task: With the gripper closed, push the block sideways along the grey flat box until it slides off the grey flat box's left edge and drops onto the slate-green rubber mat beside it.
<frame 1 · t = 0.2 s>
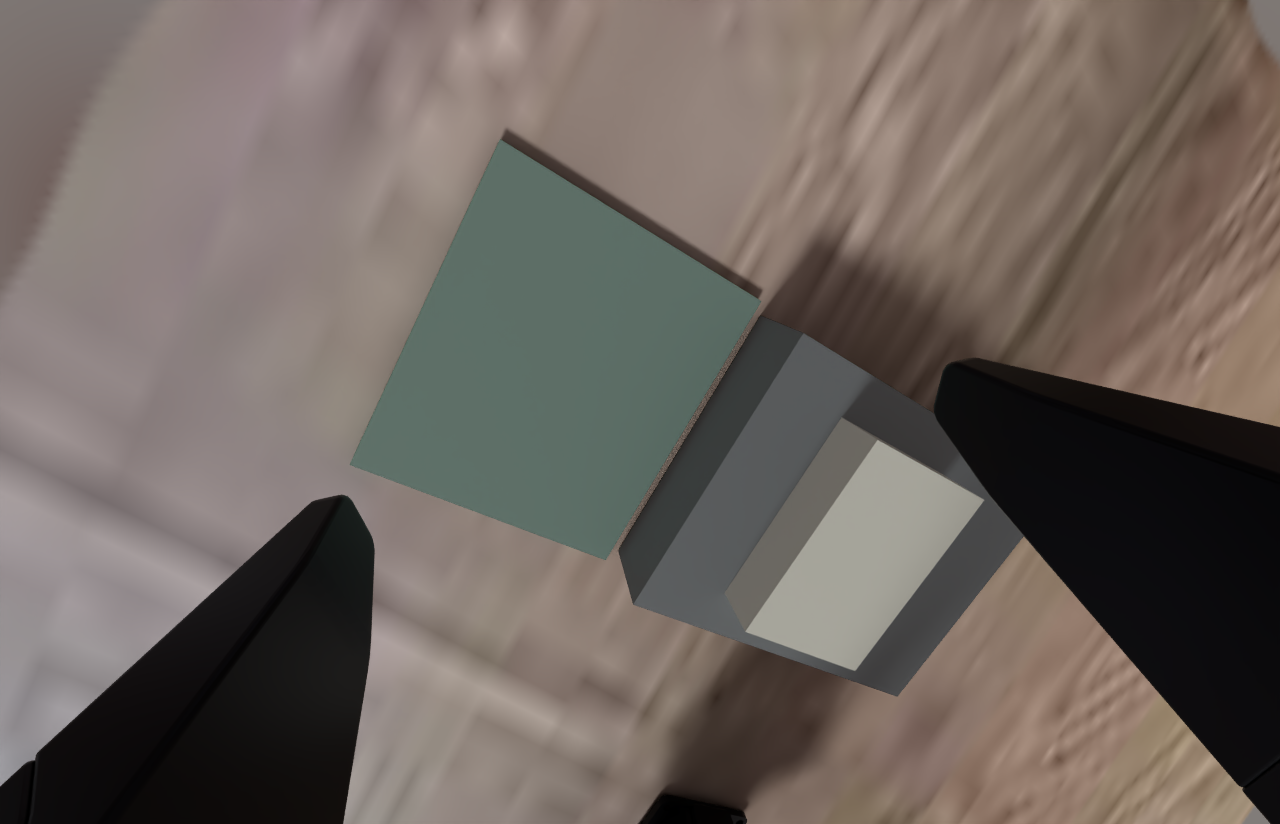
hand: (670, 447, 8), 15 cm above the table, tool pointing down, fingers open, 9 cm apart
mat: (560, 378, 23), on the table
block: (833, 532, 23), point 4 cm above the table, touching grey flat box
grey flat box: (813, 501, 28), on the table
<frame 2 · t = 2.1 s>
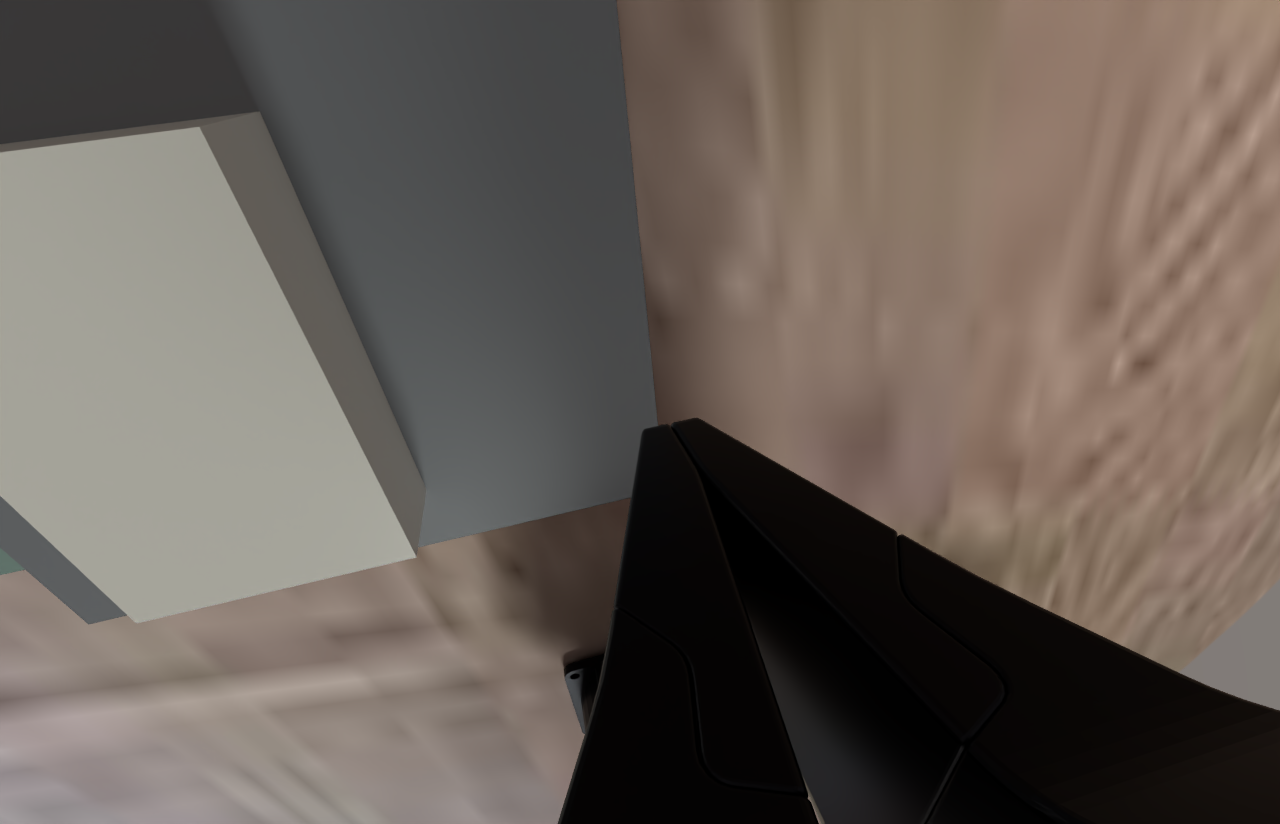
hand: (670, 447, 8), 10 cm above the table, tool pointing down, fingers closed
block: (216, 367, 12), point 4 cm above the table, touching grey flat box
grey flat box: (333, 288, 15), on the table
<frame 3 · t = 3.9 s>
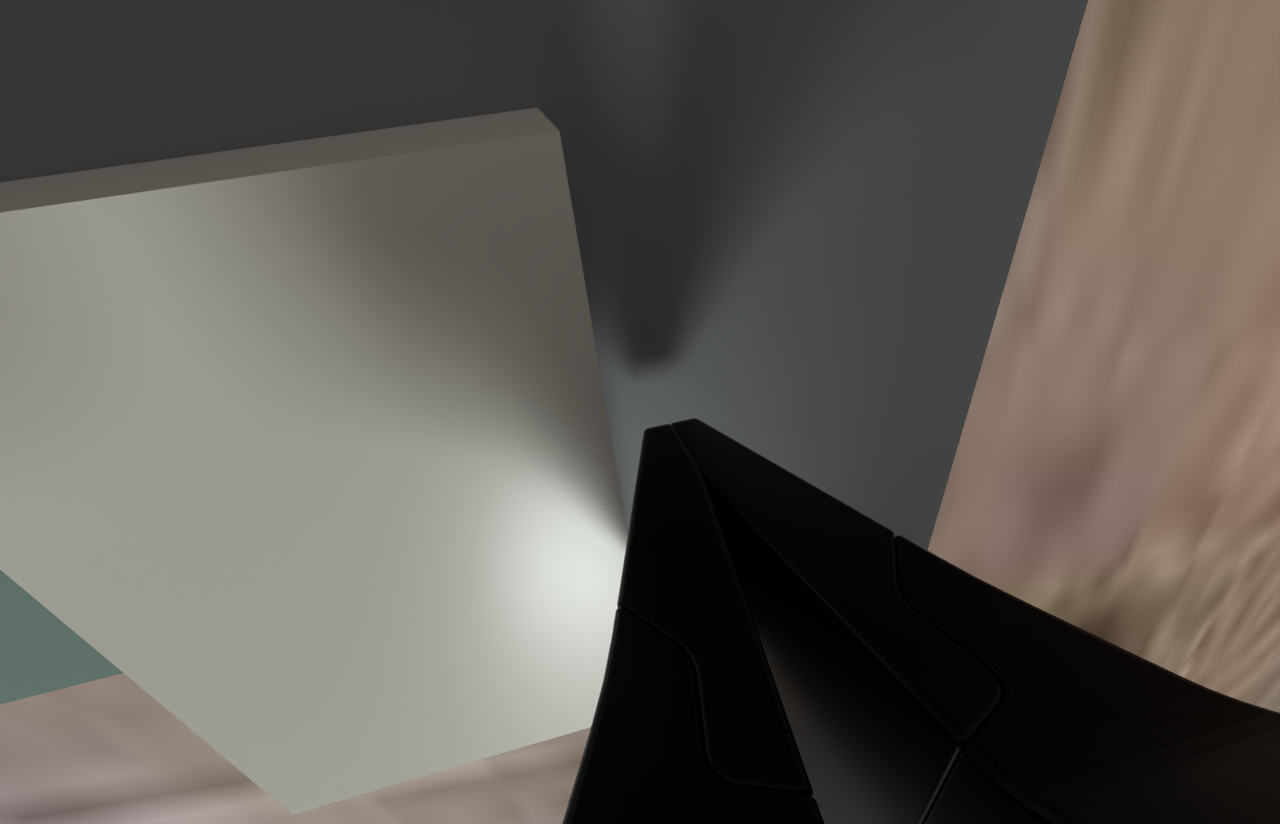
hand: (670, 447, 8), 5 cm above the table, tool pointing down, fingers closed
block: (406, 464, 8), point 4 cm above the table, touching gripper
grey flat box: (533, 330, 12), on the table
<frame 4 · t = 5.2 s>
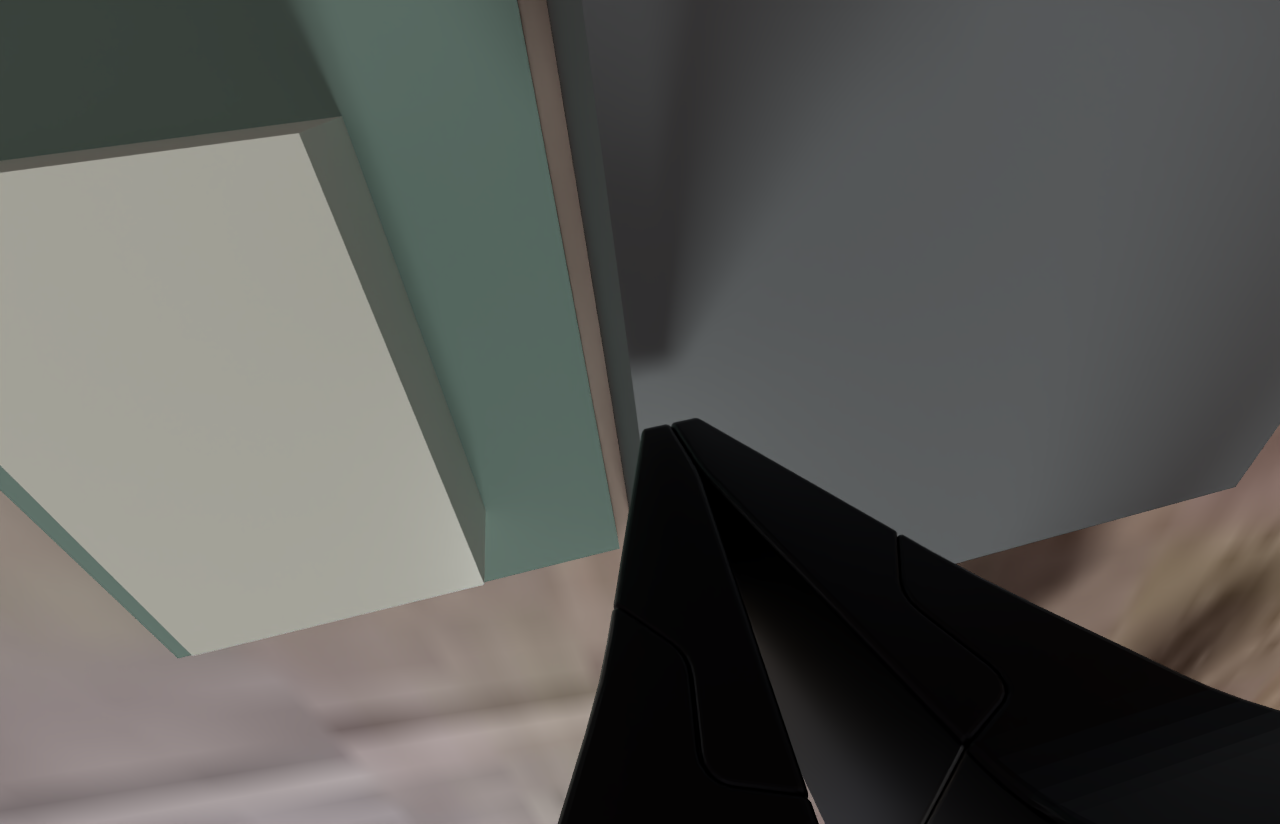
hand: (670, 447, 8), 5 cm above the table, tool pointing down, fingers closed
mat: (297, 379, 11), on the table
block: (233, 457, 9), point 3 cm above the table, tilted 180°, touching mat
grey flat box: (918, 259, 13), on the table
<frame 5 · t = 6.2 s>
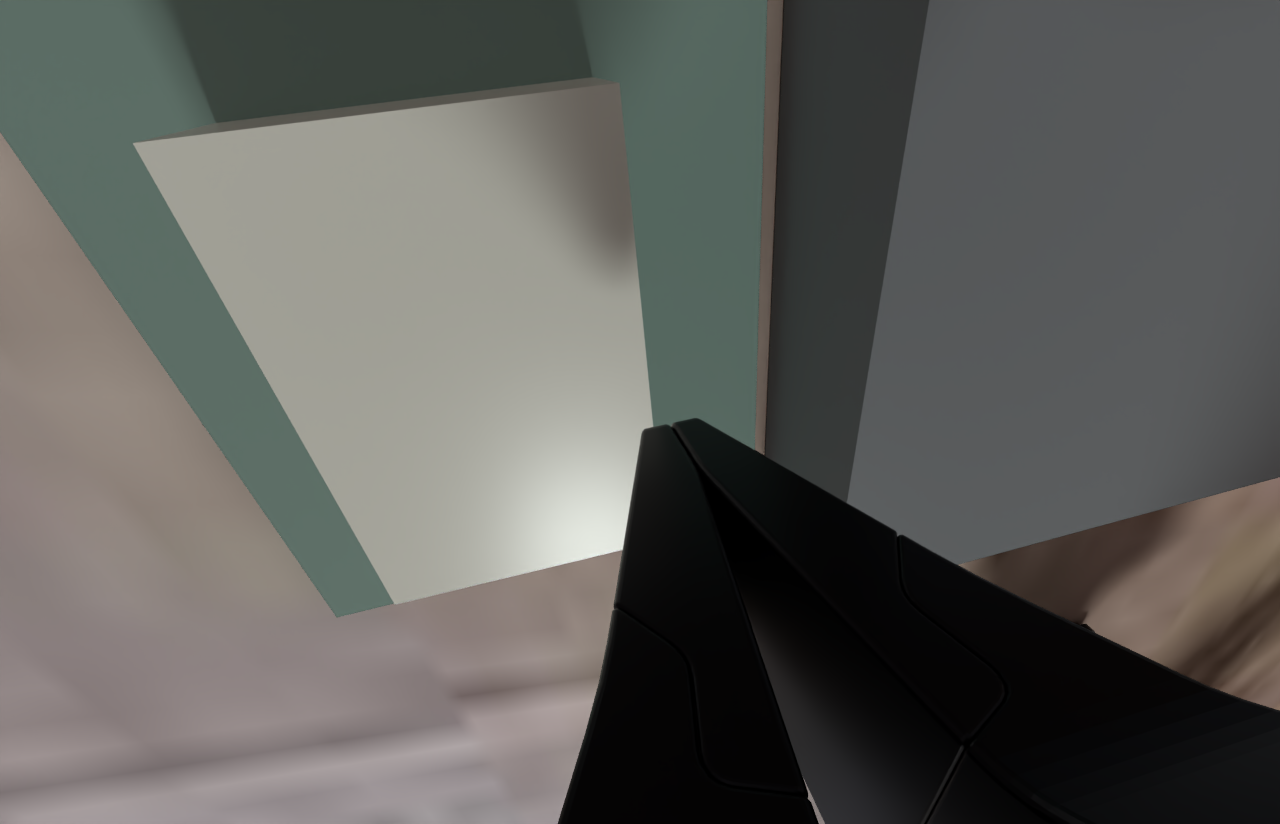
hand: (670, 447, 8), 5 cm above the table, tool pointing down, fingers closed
mat: (493, 339, 12), on the table
block: (481, 403, 9), point 3 cm above the table, tilted 180°, touching mat
grey flat box: (1068, 231, 14), on the table
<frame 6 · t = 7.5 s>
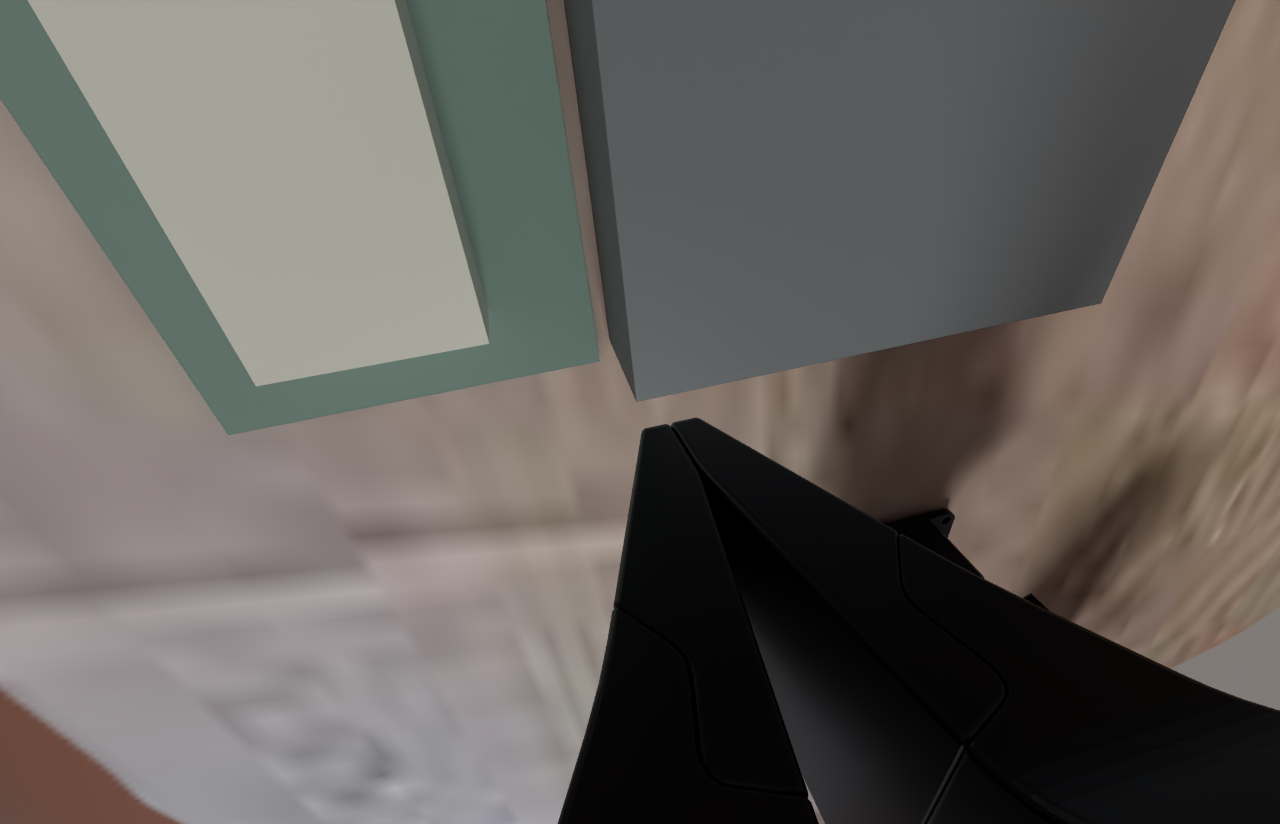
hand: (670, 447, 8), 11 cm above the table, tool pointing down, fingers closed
mat: (338, 168, 14), on the table
block: (301, 187, 12), point 3 cm above the table, tilted 180°, touching mat
grey flat box: (843, 99, 16), on the table
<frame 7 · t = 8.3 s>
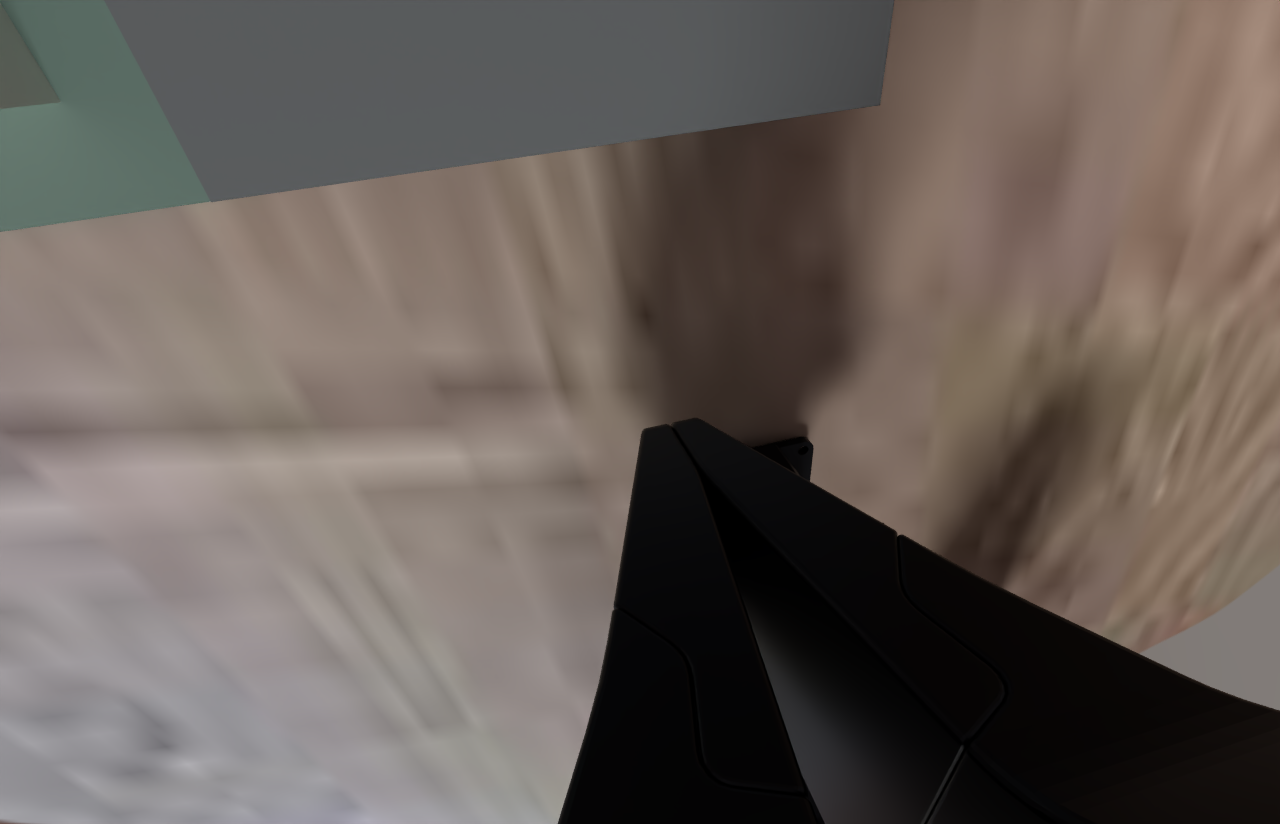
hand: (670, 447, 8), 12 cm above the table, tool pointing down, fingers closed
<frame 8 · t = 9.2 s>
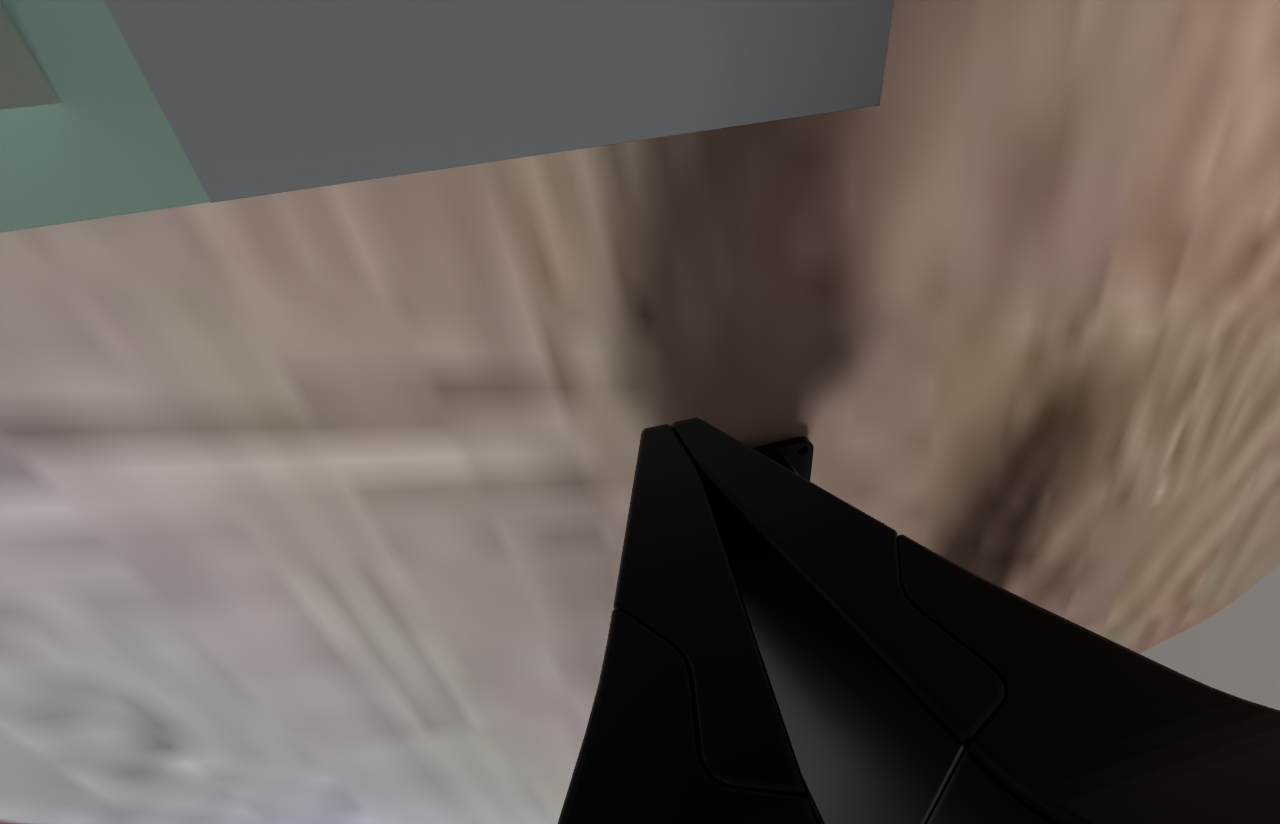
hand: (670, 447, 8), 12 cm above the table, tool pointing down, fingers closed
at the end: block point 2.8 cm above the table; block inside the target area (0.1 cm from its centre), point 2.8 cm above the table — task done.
